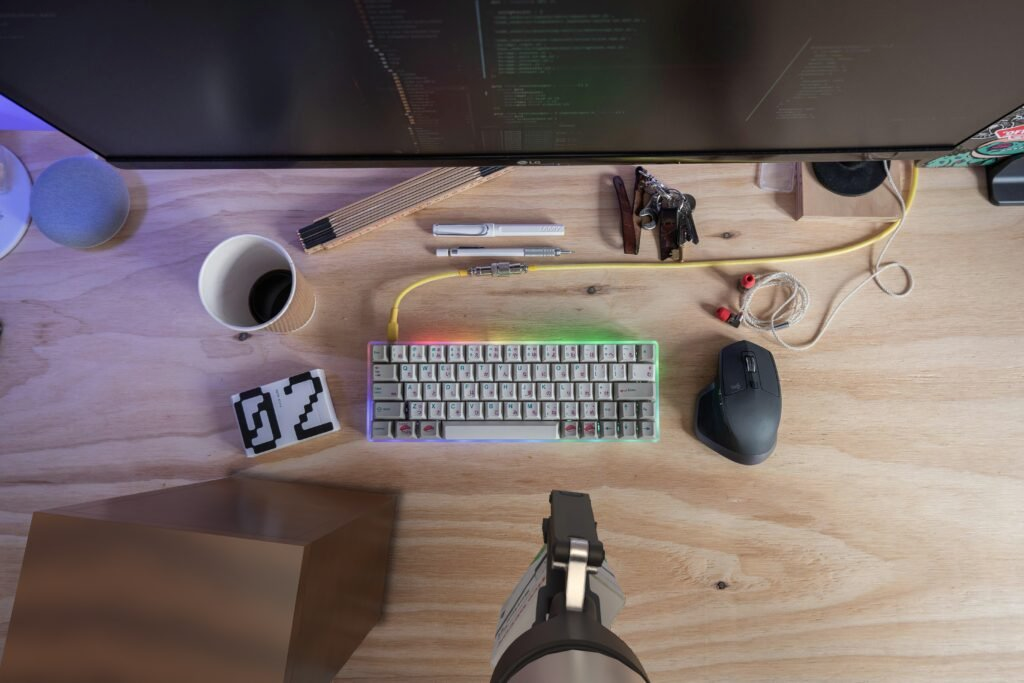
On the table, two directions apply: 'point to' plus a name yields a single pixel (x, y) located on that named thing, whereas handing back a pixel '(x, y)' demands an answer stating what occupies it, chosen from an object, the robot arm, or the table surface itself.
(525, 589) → the ink box
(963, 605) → the table surface
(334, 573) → the shelf stand
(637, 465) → the table surface
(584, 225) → the table surface
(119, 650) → the shelf
